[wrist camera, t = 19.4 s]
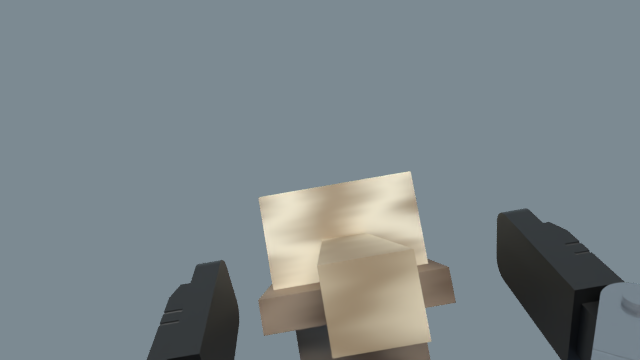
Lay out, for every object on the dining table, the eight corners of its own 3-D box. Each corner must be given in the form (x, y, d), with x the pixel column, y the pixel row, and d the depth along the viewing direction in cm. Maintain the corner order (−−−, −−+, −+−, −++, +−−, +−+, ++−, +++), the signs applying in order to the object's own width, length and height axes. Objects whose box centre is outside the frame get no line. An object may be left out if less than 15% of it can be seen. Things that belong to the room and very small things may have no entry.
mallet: (410, 255, 34) (396, 179, 35) (558, 319, 12) (513, 111, 13) (282, 277, 34) (270, 201, 35) (205, 380, 12) (175, 170, 13)
